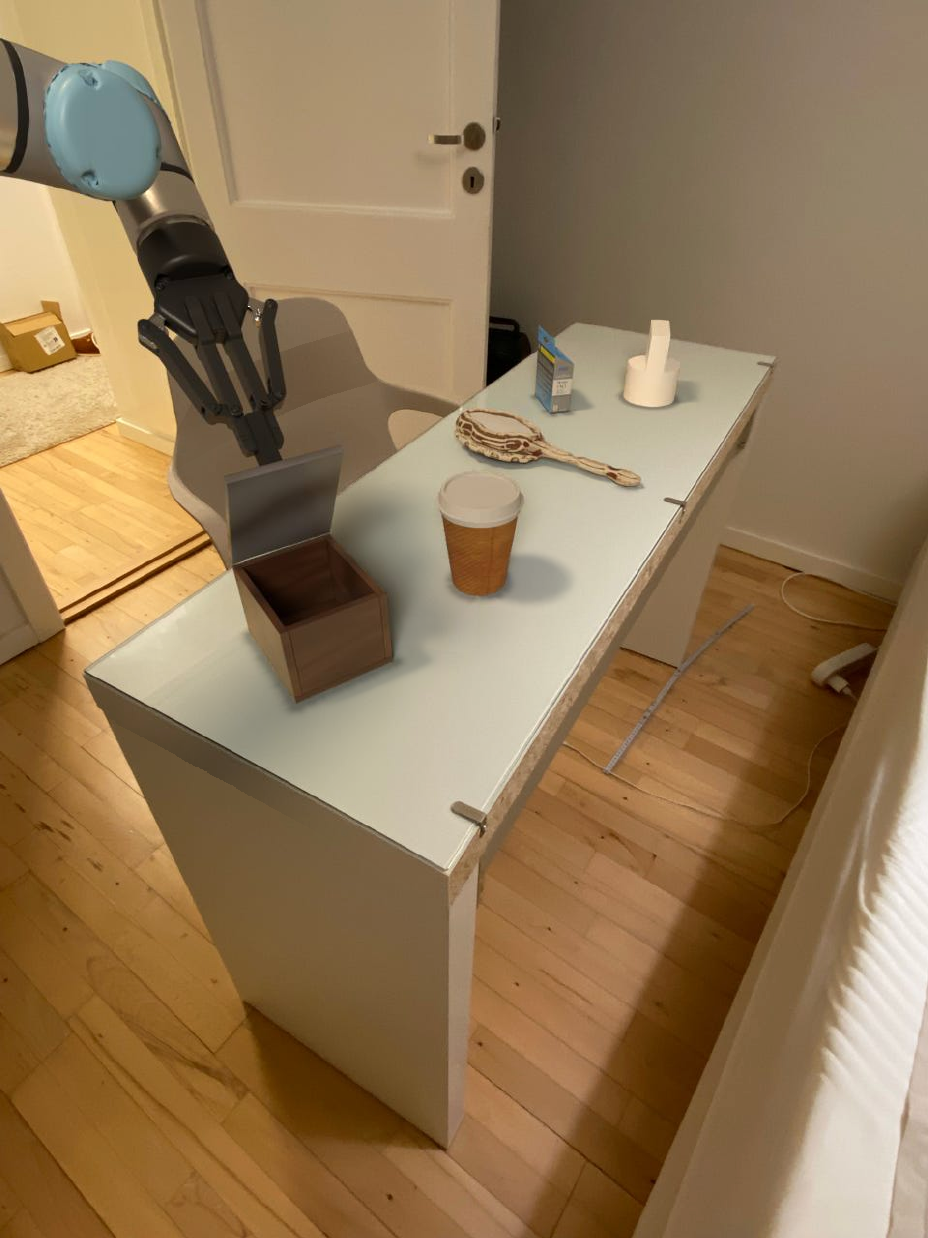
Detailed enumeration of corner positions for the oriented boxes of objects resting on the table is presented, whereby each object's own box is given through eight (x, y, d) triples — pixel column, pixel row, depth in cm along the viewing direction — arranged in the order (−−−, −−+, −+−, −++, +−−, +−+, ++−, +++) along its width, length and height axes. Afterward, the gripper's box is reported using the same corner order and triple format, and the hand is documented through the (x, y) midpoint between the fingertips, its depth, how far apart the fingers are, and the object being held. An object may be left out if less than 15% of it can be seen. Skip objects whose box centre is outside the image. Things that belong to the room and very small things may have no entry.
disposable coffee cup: (445, 554, 84) (443, 465, 77) (522, 559, 83) (527, 471, 76) (431, 600, 77) (428, 508, 70) (515, 608, 76) (521, 515, 69)
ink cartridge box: (570, 412, 118) (577, 338, 110) (549, 414, 117) (555, 340, 109) (553, 392, 124) (559, 322, 117) (533, 394, 124) (537, 323, 116)
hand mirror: (628, 490, 92) (439, 423, 101) (621, 521, 96) (441, 455, 106) (657, 445, 97) (474, 386, 107) (649, 476, 102) (475, 417, 111)
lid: (344, 450, 60) (340, 443, 60) (226, 483, 55) (222, 475, 56) (330, 532, 72) (326, 526, 72) (231, 564, 67) (228, 558, 67)
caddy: (393, 661, 70) (386, 593, 64) (295, 704, 65) (279, 634, 59) (339, 598, 78) (329, 533, 72) (249, 632, 73) (231, 565, 67)
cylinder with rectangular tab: (623, 385, 127) (633, 318, 119) (673, 389, 126) (686, 321, 118) (622, 404, 120) (633, 334, 113) (674, 408, 119) (689, 337, 111)
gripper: (242, 262, 68) (335, 479, 68) (105, 281, 62) (206, 517, 63) (250, 209, 61) (354, 449, 61) (97, 225, 56) (211, 489, 56)
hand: (279, 483), depth 62 cm, fingers closed
